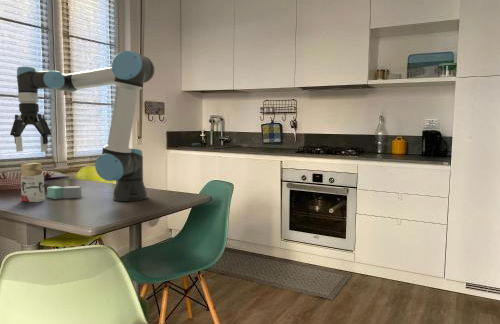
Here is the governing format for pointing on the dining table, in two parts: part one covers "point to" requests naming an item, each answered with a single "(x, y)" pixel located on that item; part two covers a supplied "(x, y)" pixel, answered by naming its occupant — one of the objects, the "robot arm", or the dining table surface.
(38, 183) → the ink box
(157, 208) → the dining table surface
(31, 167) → the brick oak
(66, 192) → the brick grey
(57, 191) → the brick teal
